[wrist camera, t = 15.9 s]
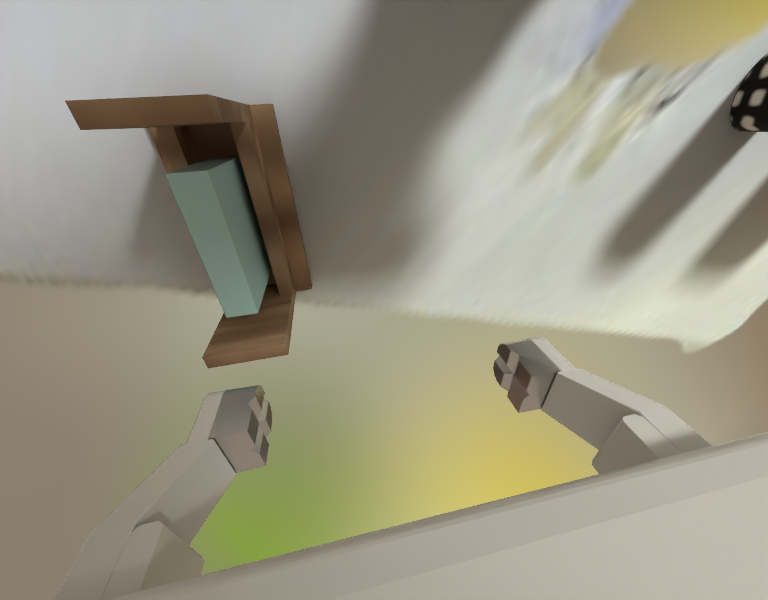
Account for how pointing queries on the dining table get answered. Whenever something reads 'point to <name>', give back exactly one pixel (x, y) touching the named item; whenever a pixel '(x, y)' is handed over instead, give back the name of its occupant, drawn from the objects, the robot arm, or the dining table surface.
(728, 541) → the robot arm
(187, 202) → the door panel
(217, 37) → the dining table surface
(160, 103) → the wooden u-shaped stand
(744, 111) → the spotted tube
